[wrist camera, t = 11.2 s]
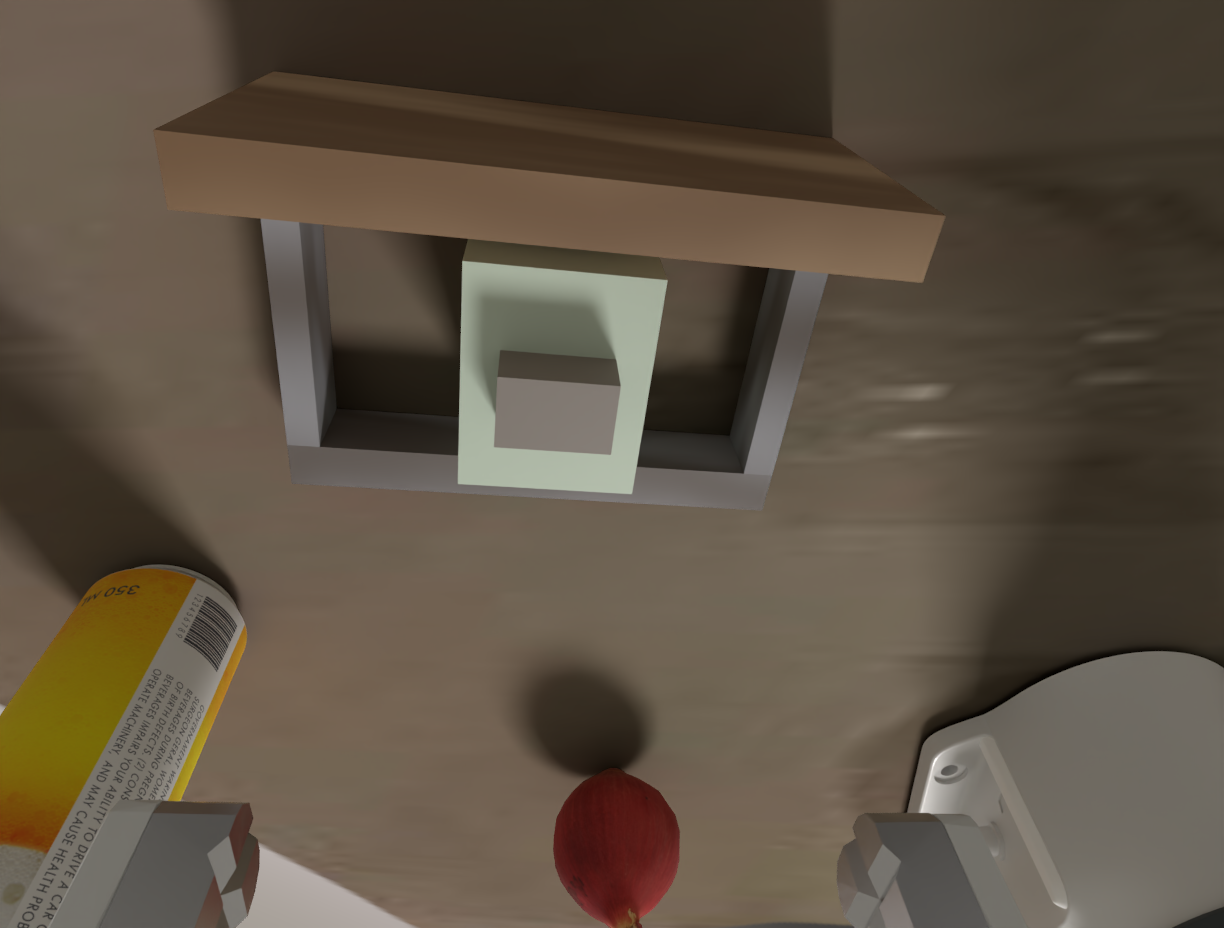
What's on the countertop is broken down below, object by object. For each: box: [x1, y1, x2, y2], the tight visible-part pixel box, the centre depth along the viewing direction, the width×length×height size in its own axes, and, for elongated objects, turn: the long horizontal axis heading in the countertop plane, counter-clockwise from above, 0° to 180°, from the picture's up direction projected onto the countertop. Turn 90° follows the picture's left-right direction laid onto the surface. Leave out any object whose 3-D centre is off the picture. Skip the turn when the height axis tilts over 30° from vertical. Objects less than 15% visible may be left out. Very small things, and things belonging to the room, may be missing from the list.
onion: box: [553, 768, 680, 928], centre depth 36 cm, size 6×6×8 cm
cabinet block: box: [458, 239, 668, 494], centre depth 23 cm, size 6×5×8 cm
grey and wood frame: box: [153, 71, 946, 510], centre depth 23 cm, size 12×16×8 cm
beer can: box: [0, 564, 247, 928], centre depth 26 cm, size 6×6×15 cm
